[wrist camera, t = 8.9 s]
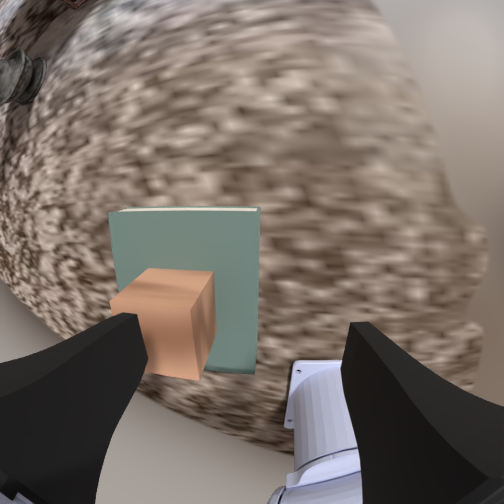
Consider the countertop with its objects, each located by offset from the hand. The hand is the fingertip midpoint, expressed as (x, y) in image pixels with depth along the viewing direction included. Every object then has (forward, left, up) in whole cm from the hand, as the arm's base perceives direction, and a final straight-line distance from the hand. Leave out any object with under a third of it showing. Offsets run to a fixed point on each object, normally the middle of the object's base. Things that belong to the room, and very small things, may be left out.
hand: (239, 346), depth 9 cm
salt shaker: (+17, +23, -11) cm, 31 cm away
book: (-3, +5, -11) cm, 12 cm away
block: (-3, +5, -8) cm, 10 cm away
